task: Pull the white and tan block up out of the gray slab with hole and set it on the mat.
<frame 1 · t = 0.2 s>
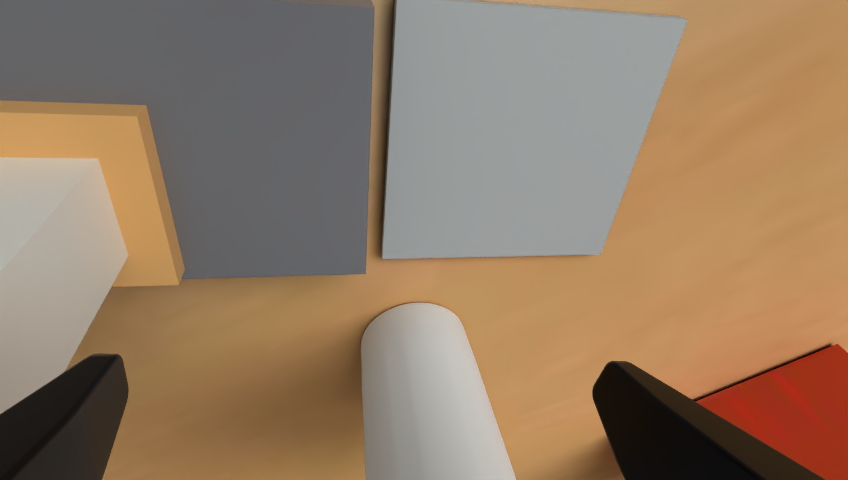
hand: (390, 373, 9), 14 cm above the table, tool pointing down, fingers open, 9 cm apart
mug: (423, 352, 30), on the table
white and tan block: (93, 161, 20), resting in gray slab with hole
file binder: (724, 410, 40), on the table
mat: (515, 146, 23), on the table
gray slab with hole: (166, 126, 20), on the table
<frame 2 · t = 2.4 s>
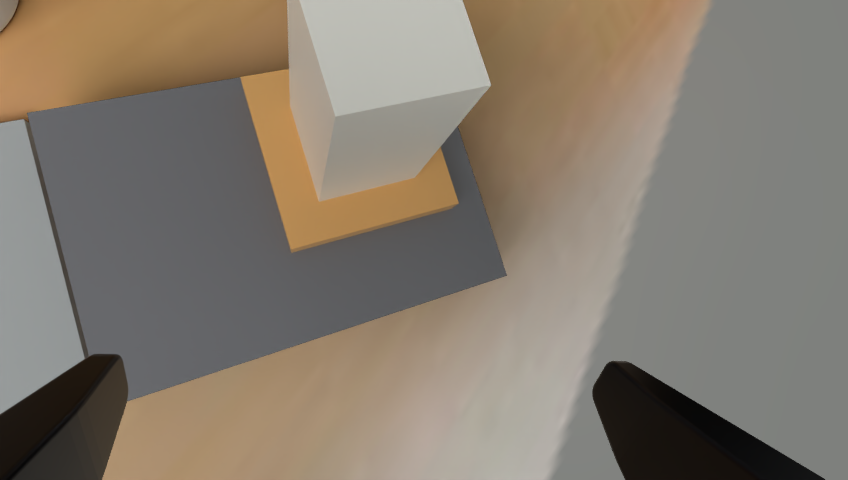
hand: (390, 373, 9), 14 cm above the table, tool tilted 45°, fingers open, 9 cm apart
white and tan block: (344, 170, 23), resting in gray slab with hole
gray slab with hole: (290, 217, 22), on the table
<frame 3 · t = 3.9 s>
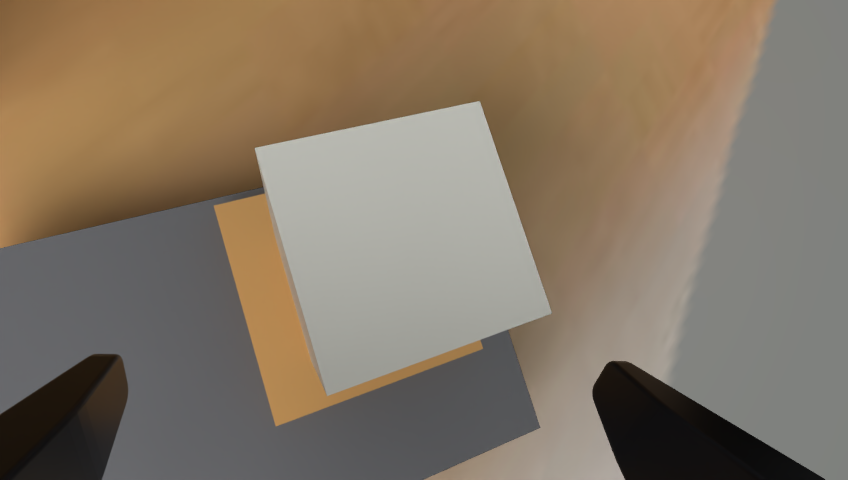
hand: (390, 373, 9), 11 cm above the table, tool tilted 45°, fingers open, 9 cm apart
white and tan block: (343, 289, 20), resting in gray slab with hole
gray slab with hole: (278, 350, 19), on the table
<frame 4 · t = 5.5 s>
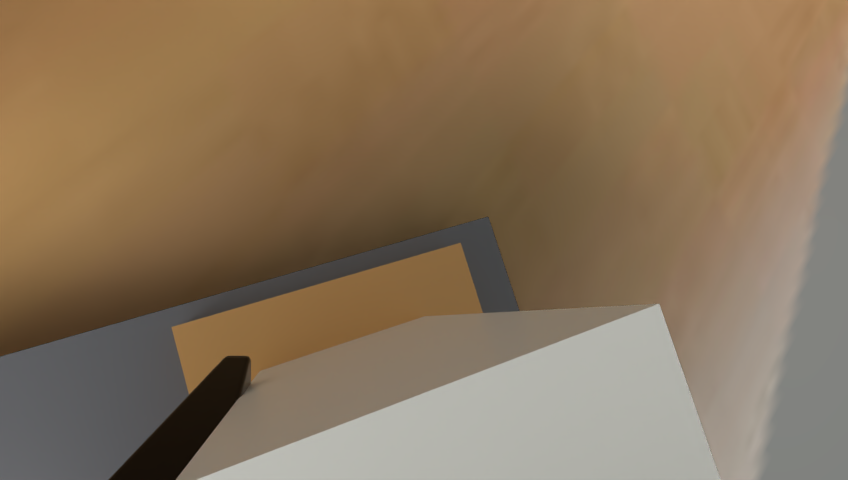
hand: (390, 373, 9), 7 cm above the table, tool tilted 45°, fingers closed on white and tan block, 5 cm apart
white and tan block: (352, 400, 15), resting in gray slab with hole, touching gripper
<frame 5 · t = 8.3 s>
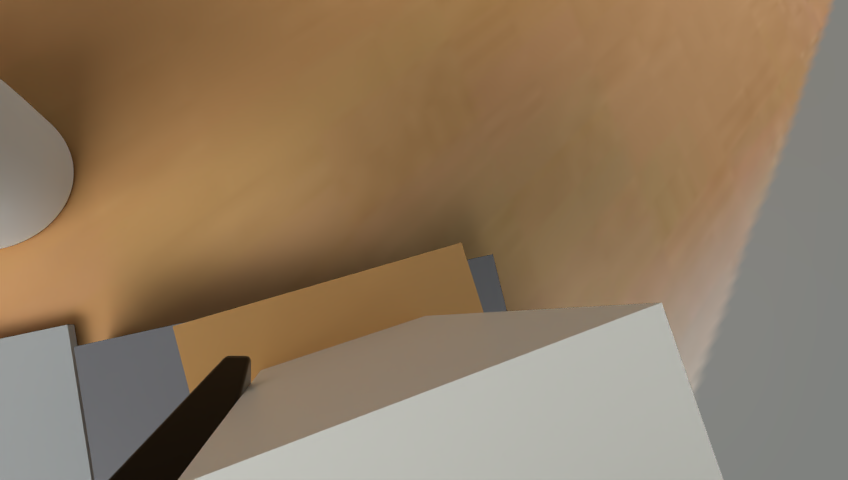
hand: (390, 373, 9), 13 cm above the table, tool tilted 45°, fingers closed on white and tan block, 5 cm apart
white and tan block: (353, 400, 15), point 7 cm above the table, touching gripper
gray slab with hole: (331, 421, 21), on the table
when the fingers open (8 cm above the table, at t = 11.3 s): white and tan block stays where it is, resting on mat.
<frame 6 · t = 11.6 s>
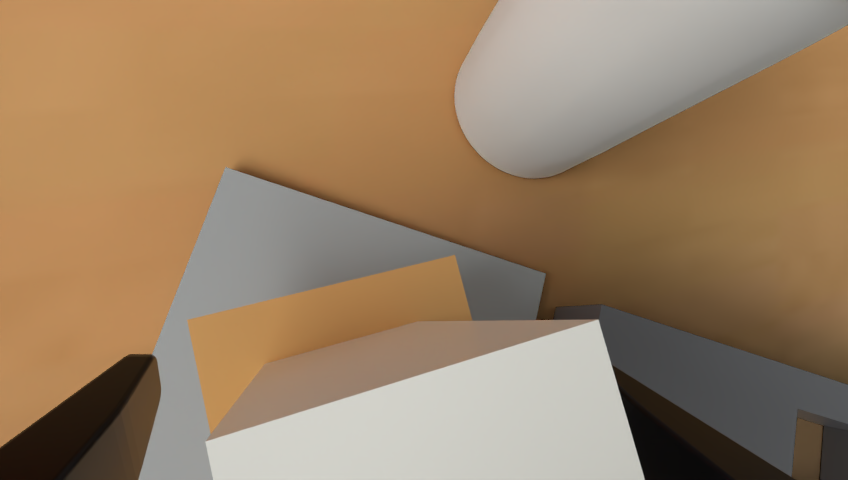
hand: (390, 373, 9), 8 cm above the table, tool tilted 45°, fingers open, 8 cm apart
mug: (512, 72, 21), on the table
white and tan block: (348, 397, 16), point 1 cm above the table, touching mat
mat: (344, 392, 17), on the table
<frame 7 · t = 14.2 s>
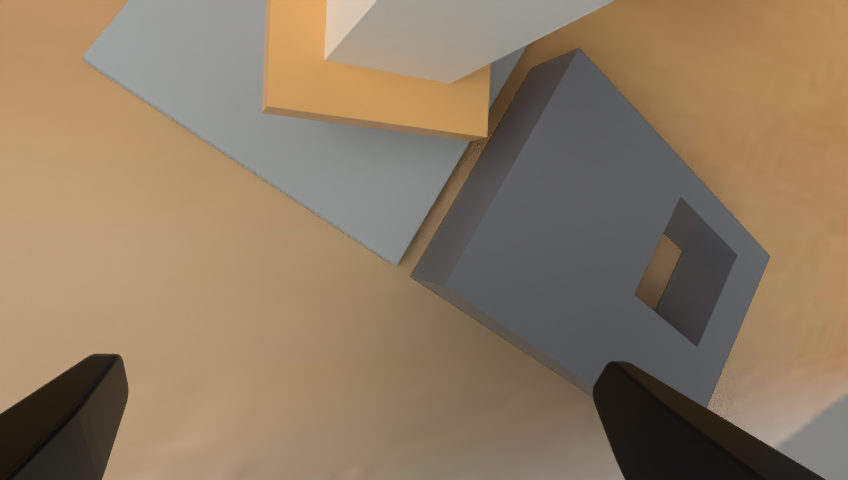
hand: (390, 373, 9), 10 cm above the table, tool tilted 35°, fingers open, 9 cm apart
white and tan block: (354, 45, 18), point 1 cm above the table, touching mat
mat: (348, 46, 18), on the table
gray slab with hole: (588, 262, 24), on the table
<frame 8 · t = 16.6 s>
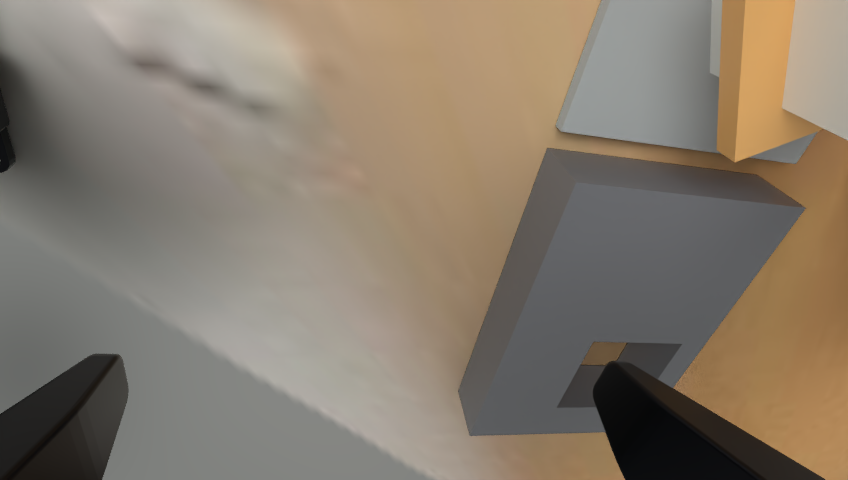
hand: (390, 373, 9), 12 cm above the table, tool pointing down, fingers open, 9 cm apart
white and tan block: (764, 0, 18), point 1 cm above the table, touching mat
gray slab with hole: (590, 295, 26), on the table
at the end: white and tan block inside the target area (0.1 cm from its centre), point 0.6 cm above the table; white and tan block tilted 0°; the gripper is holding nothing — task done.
